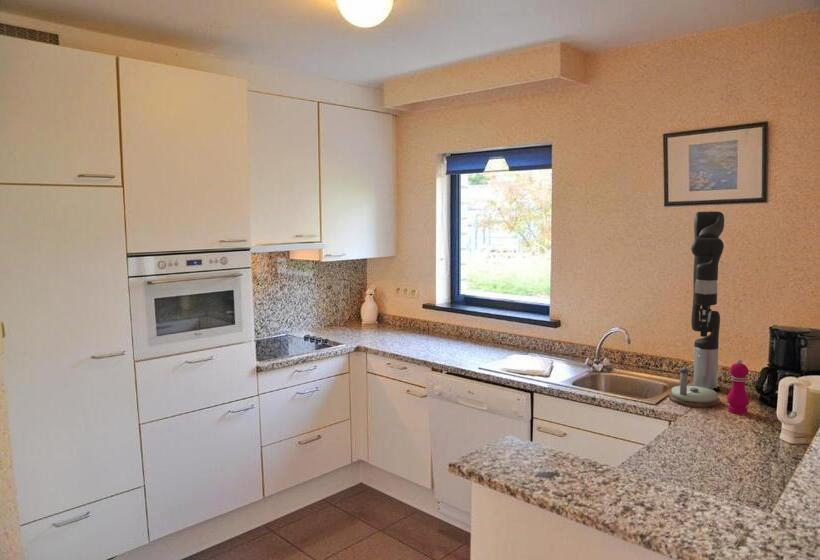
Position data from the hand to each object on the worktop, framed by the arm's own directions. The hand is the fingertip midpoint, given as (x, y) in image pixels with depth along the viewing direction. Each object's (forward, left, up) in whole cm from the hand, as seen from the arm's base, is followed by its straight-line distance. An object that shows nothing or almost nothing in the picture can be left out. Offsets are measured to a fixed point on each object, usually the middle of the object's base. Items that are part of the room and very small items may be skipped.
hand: (704, 334), depth 219 cm
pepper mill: (+2, +12, -29) cm, 32 cm away
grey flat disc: (-11, +1, -29) cm, 31 cm away
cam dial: (-11, +1, -27) cm, 29 cm away
